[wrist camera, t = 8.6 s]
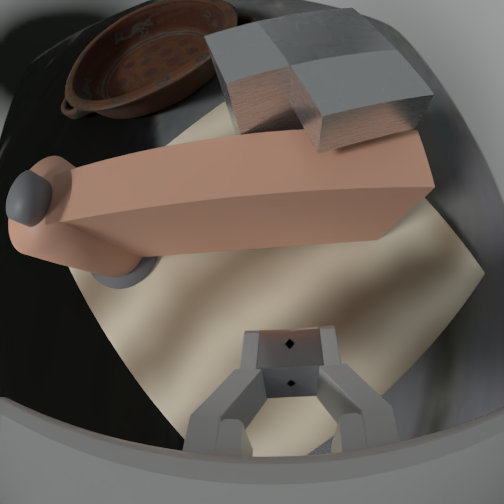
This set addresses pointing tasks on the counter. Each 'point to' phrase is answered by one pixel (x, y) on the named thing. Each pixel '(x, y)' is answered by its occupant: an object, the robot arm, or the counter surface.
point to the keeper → (317, 78)
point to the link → (215, 198)
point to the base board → (282, 312)
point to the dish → (148, 59)
